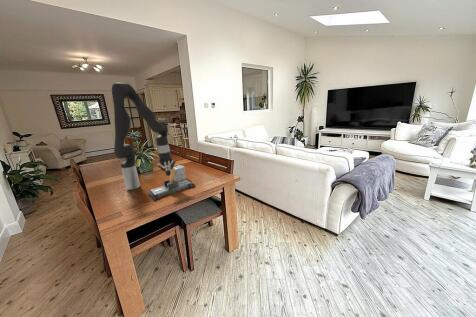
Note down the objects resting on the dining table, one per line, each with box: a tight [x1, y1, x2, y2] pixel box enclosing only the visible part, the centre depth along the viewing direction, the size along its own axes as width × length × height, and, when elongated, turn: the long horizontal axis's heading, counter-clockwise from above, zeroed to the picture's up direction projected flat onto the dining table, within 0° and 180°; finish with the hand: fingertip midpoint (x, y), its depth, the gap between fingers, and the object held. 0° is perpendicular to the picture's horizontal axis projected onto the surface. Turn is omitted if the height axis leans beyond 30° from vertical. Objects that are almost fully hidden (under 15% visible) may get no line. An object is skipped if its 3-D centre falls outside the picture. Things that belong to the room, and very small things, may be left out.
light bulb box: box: [170, 164, 187, 181], centre depth 153 cm, size 11×7×11 cm, turn 145°
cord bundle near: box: [147, 190, 161, 201], centre depth 129 cm, size 15×4×2 cm, turn 39°
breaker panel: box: [149, 178, 192, 198], centre depth 136 cm, size 10×26×7 cm, turn 129°
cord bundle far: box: [187, 179, 196, 189], centre depth 144 cm, size 15×4×2 cm, turn 39°
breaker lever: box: [169, 168, 175, 183], centre depth 135 cm, size 4×2×13 cm, turn 39°
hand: (168, 175), depth 133 cm, fingers closed
